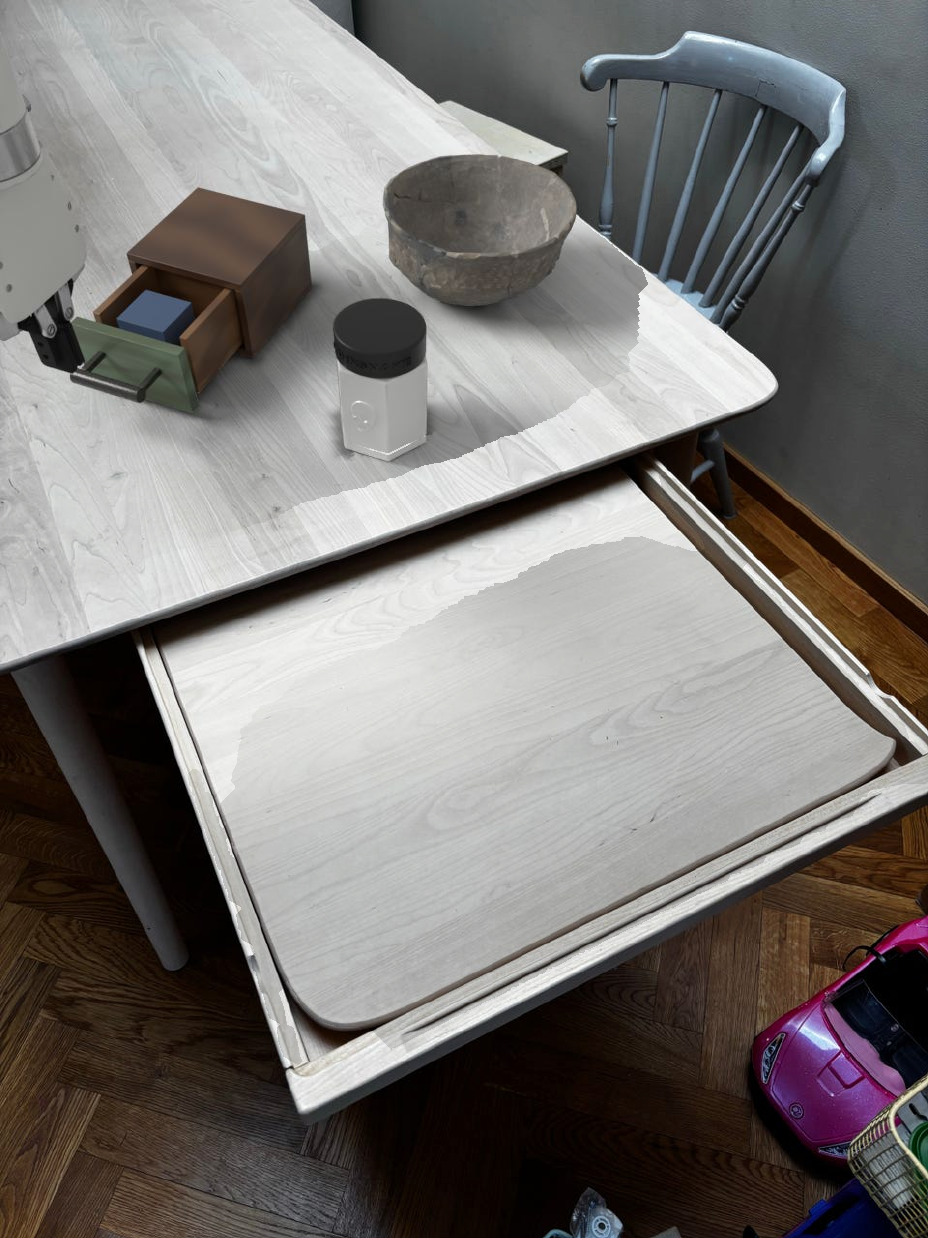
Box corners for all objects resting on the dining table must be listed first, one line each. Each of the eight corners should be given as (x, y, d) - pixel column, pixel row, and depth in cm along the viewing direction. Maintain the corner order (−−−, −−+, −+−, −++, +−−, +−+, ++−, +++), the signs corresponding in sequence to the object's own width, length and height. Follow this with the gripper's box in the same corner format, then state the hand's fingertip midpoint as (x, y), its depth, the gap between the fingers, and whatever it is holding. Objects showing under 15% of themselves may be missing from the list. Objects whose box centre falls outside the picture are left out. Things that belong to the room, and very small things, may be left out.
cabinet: (253, 358, 94) (240, 284, 87) (146, 327, 96) (125, 252, 89) (312, 287, 101) (305, 214, 94) (212, 260, 104) (197, 186, 97)
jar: (322, 444, 87) (311, 338, 77) (358, 392, 91) (352, 286, 82) (409, 471, 85) (408, 366, 75) (441, 417, 90) (445, 312, 80)
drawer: (169, 442, 85) (152, 384, 79) (63, 409, 87) (40, 350, 81) (256, 339, 94) (246, 280, 89) (159, 311, 96) (144, 252, 91)
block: (175, 380, 88) (163, 332, 84) (130, 366, 89) (116, 318, 85) (202, 350, 91) (191, 302, 87) (158, 337, 92) (145, 289, 87)
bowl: (523, 221, 111) (532, 138, 103) (595, 320, 100) (611, 236, 92) (360, 248, 106) (356, 163, 98) (416, 355, 95) (416, 269, 87)
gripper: (1, 84, 66) (78, 302, 81) (-149, 185, 58) (-32, 407, 73) (90, 106, 65) (152, 324, 80) (-50, 212, 56) (48, 433, 71)
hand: (64, 363), depth 76 cm, fingers closed
